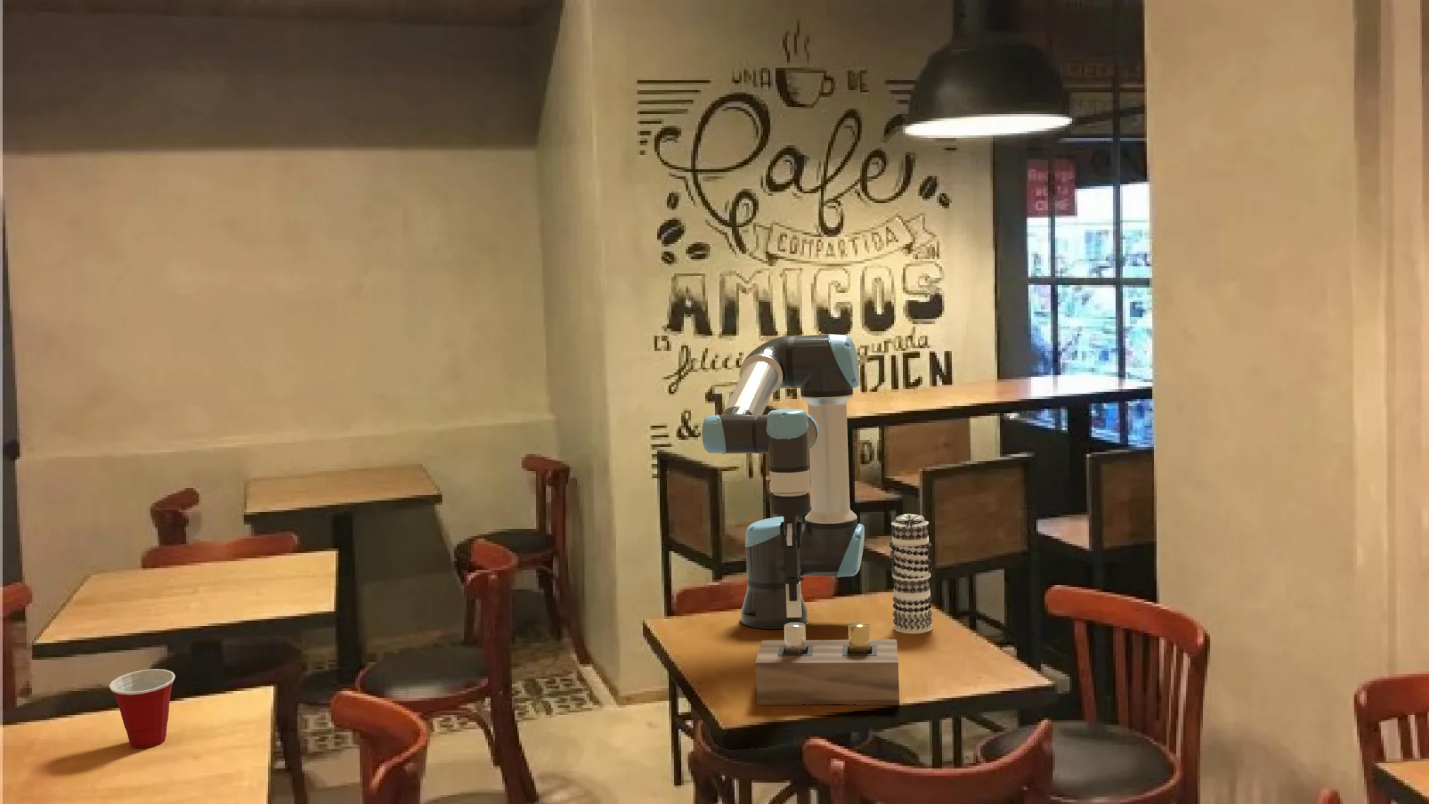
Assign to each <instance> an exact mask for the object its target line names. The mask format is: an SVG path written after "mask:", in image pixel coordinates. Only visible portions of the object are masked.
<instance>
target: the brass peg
mask: <svg viewBox="0 0 1429 804" xmlns="http://www.w3.org/2000/svg"><path fill="white" fill-rule="evenodd" d="M870 626H871V625H870V623H869V622H865V621H852V622H850V623H848V624H847V629H848V630H847V631H848V632H847V633H848V640H849V654H871V653H870V640H871V627H870Z"/></svg>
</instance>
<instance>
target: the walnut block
mask: <svg viewBox="0 0 1429 804" xmlns="http://www.w3.org/2000/svg"><path fill="white" fill-rule="evenodd" d="M870 653H871V654H849V639H815V640H814V639H806V654H785V639H782V640H781V639H780V640H776V639H775V640H774V639H773V640H770V639H769V640H768V639H766V640H761V642H760V646H759V648H758V653H757V656H756V658H755V659H756V660H755V665H754V666H755V683H756V684H755V685H756V686H755V687H756V705H757V706H804V705H803V704H806V705H805V706H810V705H809V704H856V705H855V706H900V684H899V683H900V680H899V679H900V678H899V677H900V675H899V656H898V653H899V652H898V640H897V639H870ZM866 704H867V705H866Z"/></svg>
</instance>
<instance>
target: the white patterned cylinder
mask: <svg viewBox="0 0 1429 804" xmlns="http://www.w3.org/2000/svg"><path fill="white" fill-rule="evenodd" d="M929 523H930V522H929V521H927V520H926V519H925V517H924V516H923V515H921V514H916V513H904V514H903V513H902V514H900V515H897V516H896V517H895V519H894V521H892V522H891V523H890V524H891V525H892V536H891V537H892V540H891V541H890V542H889V548H890V549H891V551H890V552H889V553H890V554H889V556H890V557H891V558H890V564H891V565H892V567H891V571H890V572H892V573H891V576H892V578H893V579H894V581H893V582H894V588H893V597H892V601H893V602H894V603H893V604H892V607H893V609H894V611H893V612H892V615H893V617H894V618H893V620H892V623H893V624H894V625H893V630H894V631H896V632H897V633H898V632H899V633H902V634H908V635H909V634H910V635H912V634H915V635H916V634H924V633H928V632H931V630H933V626H932V624H933V619H932V617H933V612H932V610H931V609H932V607H933V604H932V603H931V602H932V599H933V597H932V596H931V588H930V578H931V577H932V575H931V572H930V571H932V567H931V566H930V564H932V559H930V558H929V556H931V555H932V554H933V551H932V550H930V549H931V548H932V547H933V544H932V543H930V539H929V538H930V537H929V534H928V533H929V531H928V529H929V527H928V525H929Z"/></svg>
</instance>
